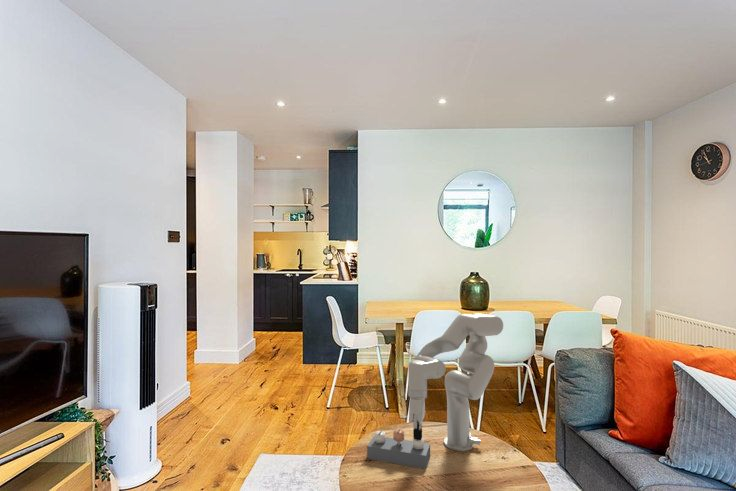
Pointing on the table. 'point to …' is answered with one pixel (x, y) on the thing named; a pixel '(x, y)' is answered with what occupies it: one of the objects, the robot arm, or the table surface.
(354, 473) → the table surface
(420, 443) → the knob near
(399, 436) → the knob middle
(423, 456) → the control rail
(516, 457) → the table surface
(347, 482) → the table surface
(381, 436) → the knob far
